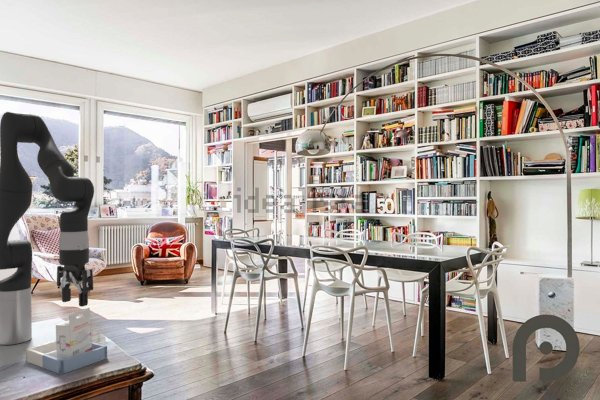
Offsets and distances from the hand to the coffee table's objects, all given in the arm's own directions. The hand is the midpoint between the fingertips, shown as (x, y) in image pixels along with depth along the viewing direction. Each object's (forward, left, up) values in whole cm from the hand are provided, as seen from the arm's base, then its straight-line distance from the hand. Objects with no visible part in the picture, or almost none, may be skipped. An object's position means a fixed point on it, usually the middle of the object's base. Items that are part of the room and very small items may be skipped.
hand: (74, 303), depth 124 cm
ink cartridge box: (0, 0, -17) cm, 17 cm away
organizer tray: (-4, 0, -17) cm, 17 cm away
